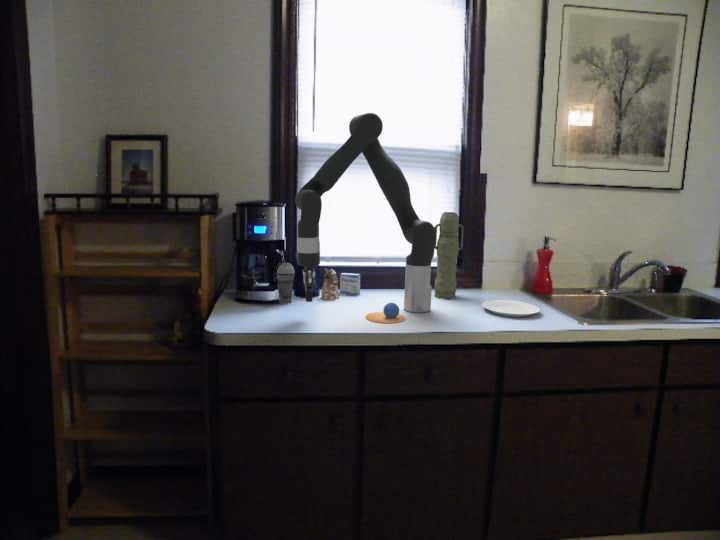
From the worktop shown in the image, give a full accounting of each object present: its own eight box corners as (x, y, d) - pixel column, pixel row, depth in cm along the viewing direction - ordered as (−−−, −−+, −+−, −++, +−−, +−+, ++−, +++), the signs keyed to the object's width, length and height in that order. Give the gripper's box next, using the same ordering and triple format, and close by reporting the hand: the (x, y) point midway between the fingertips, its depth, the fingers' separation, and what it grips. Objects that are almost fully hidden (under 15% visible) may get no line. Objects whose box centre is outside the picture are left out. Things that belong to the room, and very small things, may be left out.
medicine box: (339, 294, 209) (339, 274, 208) (341, 292, 214) (342, 272, 212) (358, 296, 208) (358, 275, 207) (360, 293, 213) (360, 273, 211)
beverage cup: (291, 305, 190) (291, 252, 186) (272, 304, 191) (272, 251, 187) (297, 301, 197) (297, 250, 193) (279, 299, 198) (279, 249, 194)
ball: (399, 303, 178) (385, 299, 177) (403, 307, 173) (388, 302, 172) (394, 318, 179) (379, 313, 178) (397, 322, 174) (382, 317, 173)
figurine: (333, 301, 198) (333, 271, 196) (317, 298, 201) (318, 269, 199) (342, 297, 204) (343, 268, 202) (327, 295, 207) (328, 266, 205)
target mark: (400, 312, 184) (400, 311, 184) (410, 323, 171) (410, 322, 171) (362, 312, 182) (362, 312, 182) (369, 324, 168) (369, 323, 168)
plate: (471, 311, 189) (471, 306, 189) (498, 302, 204) (498, 297, 204) (523, 323, 175) (524, 317, 175) (548, 313, 190) (549, 307, 190)
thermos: (428, 294, 215) (432, 211, 208) (455, 294, 216) (460, 212, 210) (433, 299, 206) (438, 213, 200) (461, 299, 207) (467, 213, 201)
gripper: (321, 253, 162) (322, 305, 165) (318, 247, 175) (318, 296, 178) (298, 253, 160) (298, 306, 164) (296, 247, 173) (296, 297, 176)
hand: (309, 301), depth 171 cm, fingers closed
